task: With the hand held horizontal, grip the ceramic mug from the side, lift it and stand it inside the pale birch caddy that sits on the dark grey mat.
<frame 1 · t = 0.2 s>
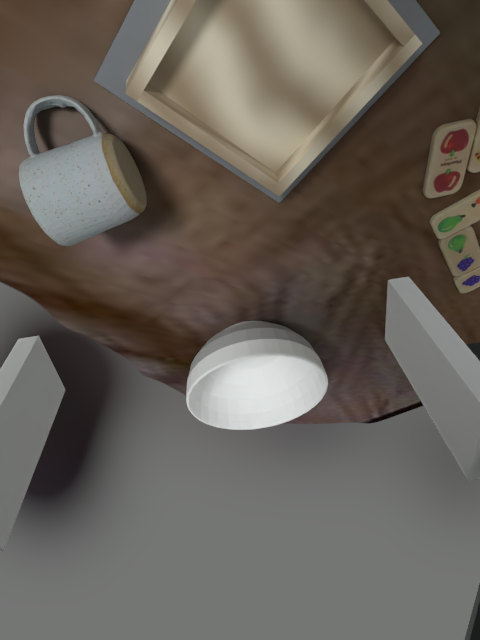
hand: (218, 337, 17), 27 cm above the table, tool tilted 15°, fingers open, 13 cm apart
ceramic mug: (81, 152, 39), on the table
caddy: (268, 56, 34), resting on mat
mat: (267, 55, 34), on the table
bowl: (248, 343, 63), on the table
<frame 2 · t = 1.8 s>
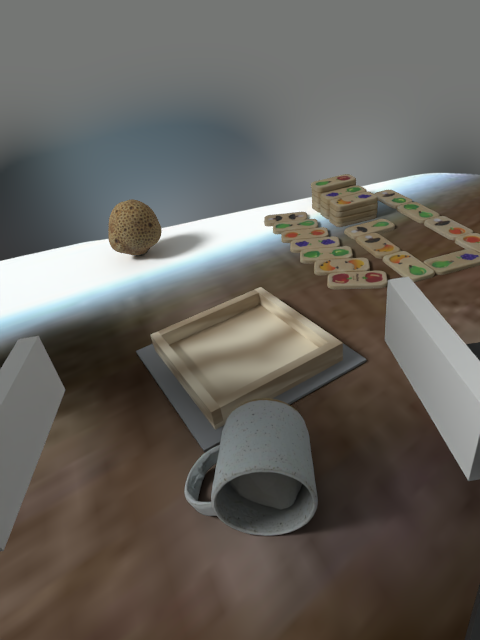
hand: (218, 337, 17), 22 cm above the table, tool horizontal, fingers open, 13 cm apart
ceramic mug: (253, 495, 36), on the table
caddy: (243, 354, 51), resting on mat
mat: (243, 356, 51), on the table
pile of dominoes: (366, 238, 74), on the table
natural sponge: (143, 255, 79), on the table
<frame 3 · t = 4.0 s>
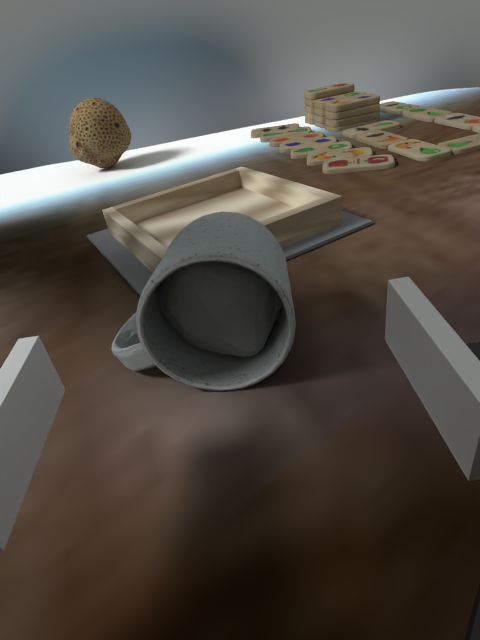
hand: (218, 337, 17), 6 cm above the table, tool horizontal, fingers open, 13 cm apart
ceramic mug: (210, 353, 26), on the table
caddy: (217, 228, 40), resting on mat
mat: (217, 231, 41), on the table
pile of dominoes: (367, 139, 64), on the table
natural sponge: (111, 169, 69), on the table
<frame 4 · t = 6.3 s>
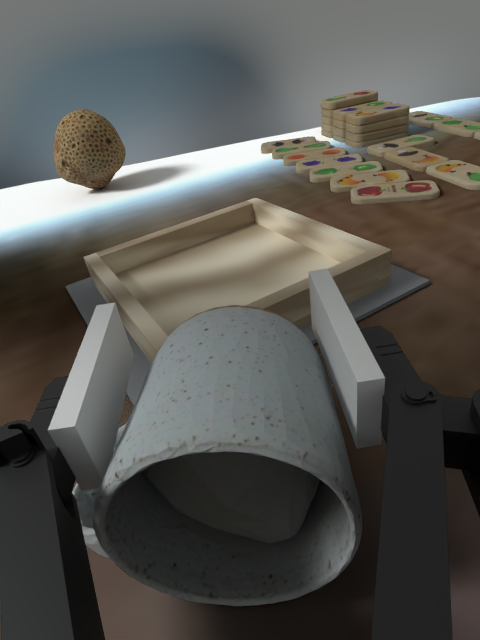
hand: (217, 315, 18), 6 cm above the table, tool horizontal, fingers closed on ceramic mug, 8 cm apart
ceramic mug: (215, 510, 18), on the table, touching gripper
caddy: (227, 283, 32), resting on mat
mat: (227, 287, 32), on the table
pile of dominoes: (397, 157, 55), on the table
natural sponge: (103, 189, 60), on the table
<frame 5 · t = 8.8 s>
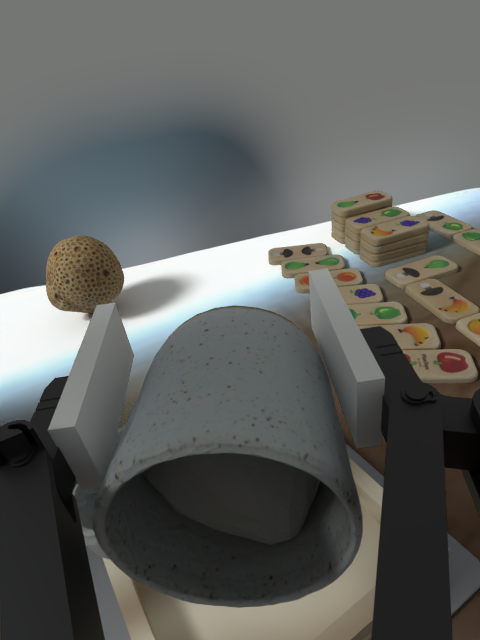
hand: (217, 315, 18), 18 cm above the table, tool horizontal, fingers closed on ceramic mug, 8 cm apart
ceramic mug: (215, 511, 18), point 11 cm above the table, touching gripper
caddy: (250, 543, 28), resting on mat
mat: (251, 545, 28), on the table
pile of dominoes: (418, 285, 51), on the table
natural sponge: (100, 312, 56), on the table
when the fingers open (9 cm above the table, at t = 11.3 s): ceramic mug drops 2 cm, resting on caddy.
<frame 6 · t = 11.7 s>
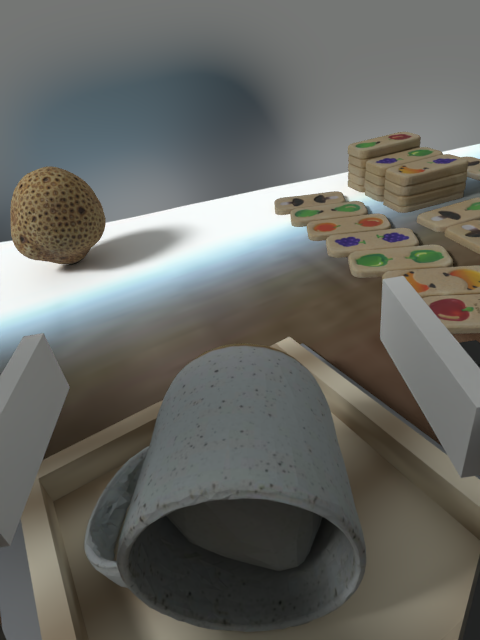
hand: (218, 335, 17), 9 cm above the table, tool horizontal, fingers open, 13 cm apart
ceramic mug: (224, 536, 18), point 1 cm above the table, touching caddy
caddy: (254, 541, 19), resting on mat
mat: (255, 545, 19), on the table
pile of dominoes: (458, 230, 42), on the table
natural sponge: (78, 264, 47), on the table
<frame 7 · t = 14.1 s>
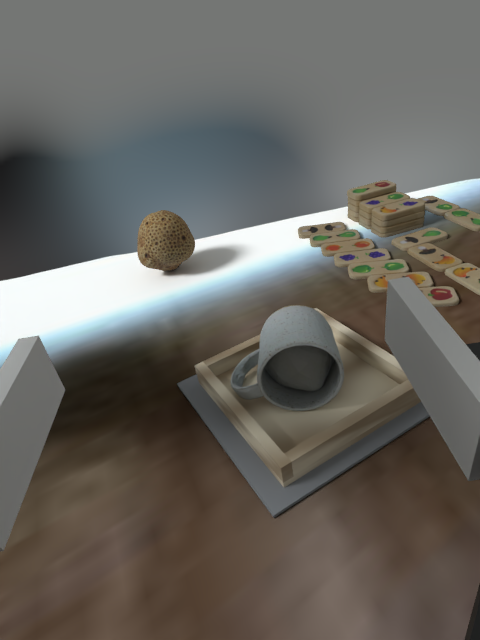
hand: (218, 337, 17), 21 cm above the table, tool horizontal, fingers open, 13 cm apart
ceramic mug: (287, 387, 43), point 1 cm above the table, touching caddy
caddy: (304, 389, 43), resting on mat
mat: (304, 391, 44), on the table
pile of dominoes: (417, 249, 67), on the table
natural sponge: (174, 270, 72), on the table
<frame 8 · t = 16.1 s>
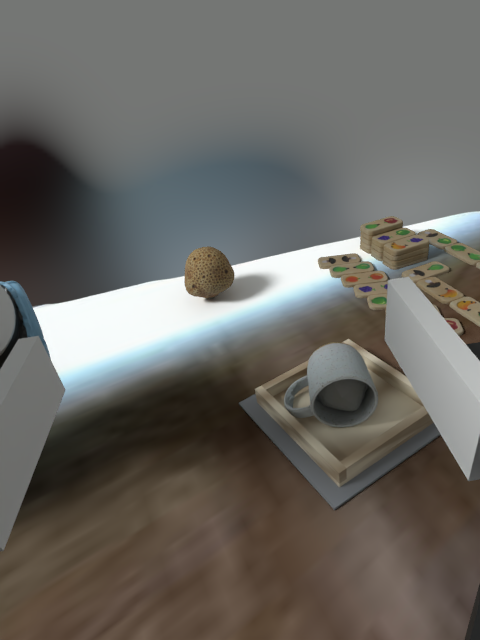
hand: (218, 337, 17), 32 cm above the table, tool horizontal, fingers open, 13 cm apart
ceramic mug: (329, 407, 55), point 1 cm above the table, touching caddy
caddy: (344, 408, 55), resting on mat
mat: (344, 410, 55), on the table
pile of dominoes: (423, 281, 79), on the table
natural sponge: (214, 297, 83), on the table
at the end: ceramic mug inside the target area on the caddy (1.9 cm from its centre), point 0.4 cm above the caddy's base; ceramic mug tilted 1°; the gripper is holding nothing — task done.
